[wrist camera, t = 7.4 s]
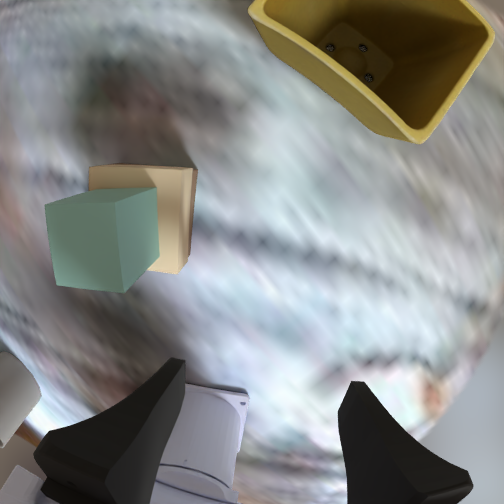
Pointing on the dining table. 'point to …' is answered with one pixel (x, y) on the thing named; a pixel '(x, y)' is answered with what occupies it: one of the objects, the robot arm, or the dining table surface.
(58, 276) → the teal block
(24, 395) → the cup
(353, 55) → the flower pot
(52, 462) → the robot arm
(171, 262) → the oak slab
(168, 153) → the dining table surface
